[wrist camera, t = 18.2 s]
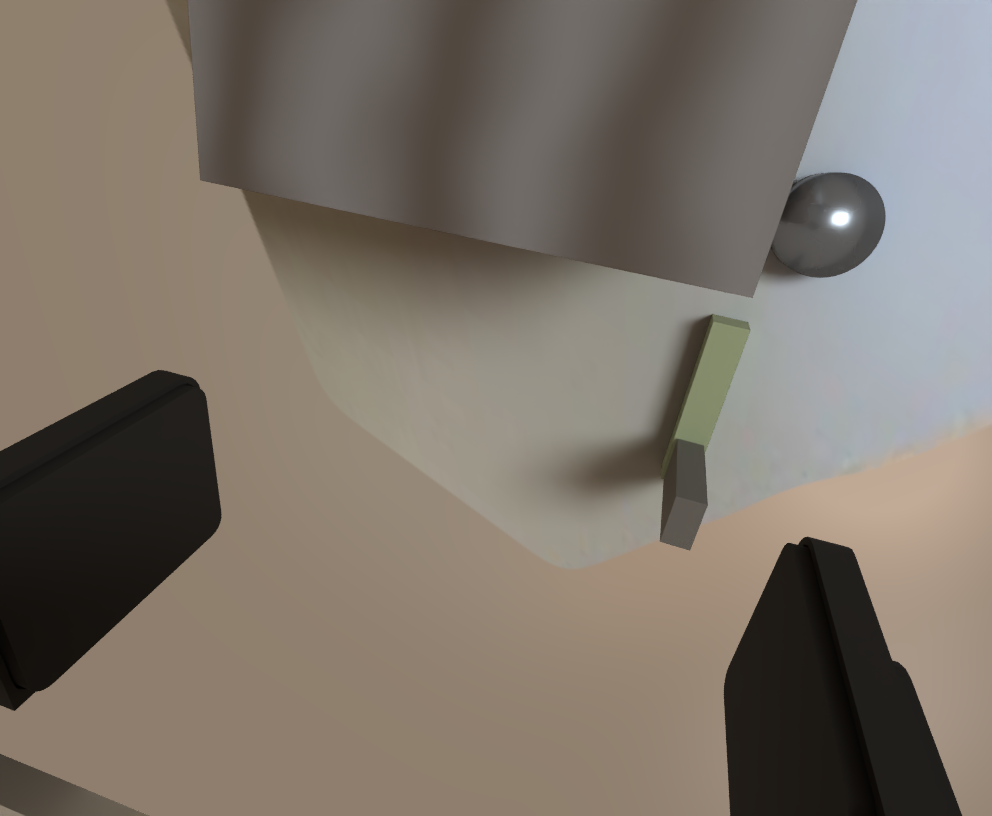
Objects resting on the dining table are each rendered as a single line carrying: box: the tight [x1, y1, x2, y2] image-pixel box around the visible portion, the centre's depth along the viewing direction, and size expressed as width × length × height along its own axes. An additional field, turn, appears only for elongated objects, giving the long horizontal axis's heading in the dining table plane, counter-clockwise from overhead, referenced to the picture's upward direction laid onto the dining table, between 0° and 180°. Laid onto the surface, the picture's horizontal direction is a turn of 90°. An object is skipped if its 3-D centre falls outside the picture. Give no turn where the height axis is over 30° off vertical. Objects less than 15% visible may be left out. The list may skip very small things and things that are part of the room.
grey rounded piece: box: [771, 173, 885, 278], centre depth 31 cm, size 5×5×2 cm
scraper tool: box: [660, 314, 750, 550], centre depth 34 cm, size 2×10×8 cm, turn 171°
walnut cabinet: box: [188, 0, 857, 298], centre depth 26 cm, size 21×10×15 cm, turn 81°
